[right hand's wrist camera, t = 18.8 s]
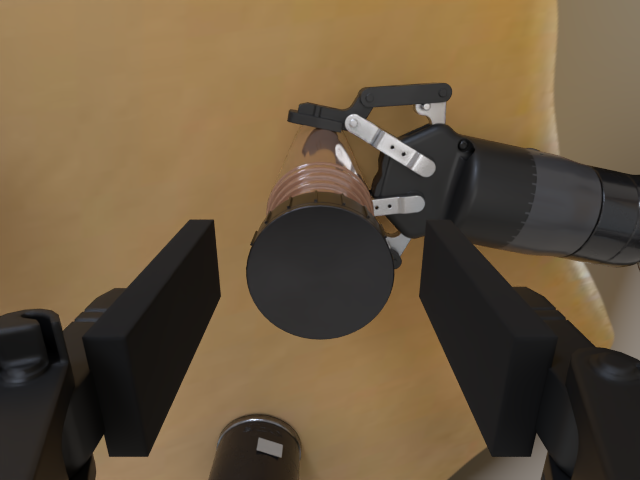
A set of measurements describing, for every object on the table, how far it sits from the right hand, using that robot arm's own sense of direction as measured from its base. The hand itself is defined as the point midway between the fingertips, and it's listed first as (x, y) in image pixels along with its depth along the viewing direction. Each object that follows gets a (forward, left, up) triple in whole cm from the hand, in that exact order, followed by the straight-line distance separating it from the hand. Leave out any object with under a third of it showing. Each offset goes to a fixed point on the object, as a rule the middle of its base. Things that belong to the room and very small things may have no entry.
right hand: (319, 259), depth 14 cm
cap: (0, 0, +1) cm, 1 cm away
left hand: (-2, +2, -18) cm, 18 cm away
